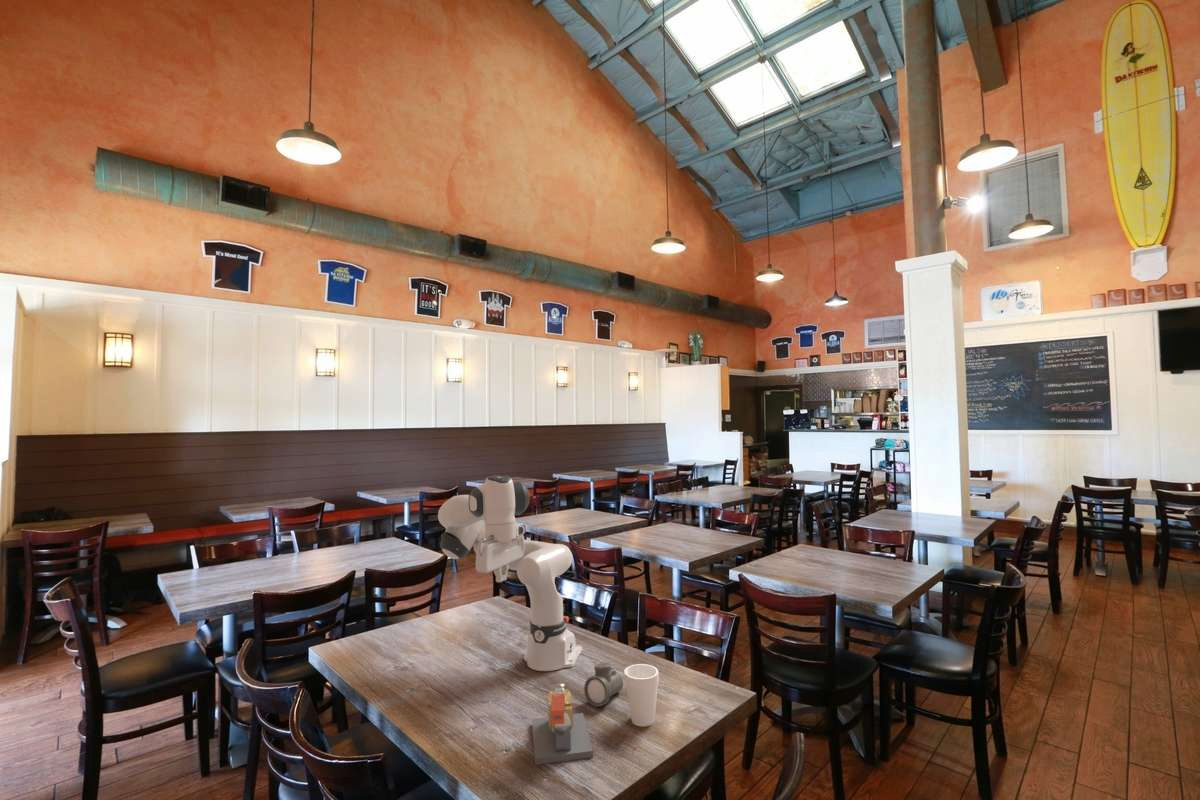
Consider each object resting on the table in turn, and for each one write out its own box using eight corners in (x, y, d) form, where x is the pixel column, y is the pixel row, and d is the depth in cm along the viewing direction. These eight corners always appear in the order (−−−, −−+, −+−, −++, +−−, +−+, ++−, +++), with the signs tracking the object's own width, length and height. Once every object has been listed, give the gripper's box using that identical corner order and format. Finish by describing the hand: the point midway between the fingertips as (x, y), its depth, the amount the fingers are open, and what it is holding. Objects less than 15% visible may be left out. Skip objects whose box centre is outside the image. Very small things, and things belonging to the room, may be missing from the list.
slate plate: (583, 718, 149) (583, 712, 149) (592, 757, 131) (592, 750, 131) (532, 724, 147) (532, 718, 147) (535, 764, 129) (534, 758, 129)
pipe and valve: (568, 716, 147) (567, 674, 148) (575, 750, 132) (574, 703, 132) (547, 719, 146) (546, 677, 147) (551, 753, 131) (550, 706, 131)
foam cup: (632, 732, 141) (630, 681, 142) (621, 714, 150) (619, 667, 151) (665, 725, 144) (663, 675, 145) (652, 708, 153) (651, 661, 154)
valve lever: (554, 690, 141) (553, 678, 141) (565, 689, 141) (565, 677, 141) (551, 724, 125) (550, 711, 125) (564, 723, 125) (563, 710, 125)
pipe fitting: (606, 710, 152) (605, 671, 154) (583, 705, 157) (582, 667, 159) (628, 697, 162) (627, 660, 164) (606, 692, 166) (605, 657, 168)
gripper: (488, 540, 144) (489, 592, 144) (527, 526, 163) (528, 572, 163) (469, 538, 147) (470, 590, 146) (509, 525, 166) (510, 571, 165)
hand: (501, 581), depth 154 cm, fingers closed
